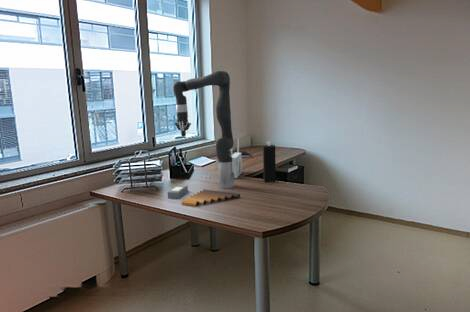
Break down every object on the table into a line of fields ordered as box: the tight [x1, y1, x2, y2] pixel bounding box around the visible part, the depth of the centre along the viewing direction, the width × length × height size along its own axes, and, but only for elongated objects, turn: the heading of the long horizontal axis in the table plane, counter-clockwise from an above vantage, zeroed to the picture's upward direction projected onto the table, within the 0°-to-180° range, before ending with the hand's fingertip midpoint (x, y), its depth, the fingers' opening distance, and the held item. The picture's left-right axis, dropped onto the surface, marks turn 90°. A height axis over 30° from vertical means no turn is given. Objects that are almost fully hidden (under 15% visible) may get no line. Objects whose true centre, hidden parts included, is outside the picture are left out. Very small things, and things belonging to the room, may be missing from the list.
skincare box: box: [230, 152, 243, 179], centre depth 269 cm, size 21×5×16 cm, turn 168°
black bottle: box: [262, 140, 277, 183], centre depth 248 cm, size 8×8×28 cm
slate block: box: [167, 184, 189, 199], centre depth 226 cm, size 4×7×16 cm
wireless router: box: [229, 137, 252, 159], centre depth 345 cm, size 34×23×20 cm
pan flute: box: [181, 189, 241, 207], centre depth 210 cm, size 25×3×25 cm
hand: (183, 136), depth 248 cm, fingers closed
